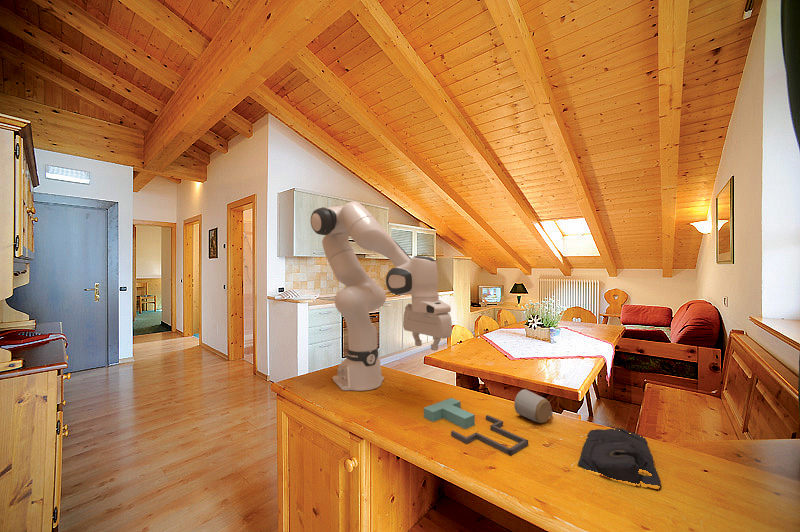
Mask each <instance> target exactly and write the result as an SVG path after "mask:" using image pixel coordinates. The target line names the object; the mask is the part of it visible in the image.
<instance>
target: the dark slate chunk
mask: <svg viewBox="0 0 800 532" xmlns="http://www.w3.org/2000/svg"><path fill="white" fill-rule="evenodd" d="M614 429H615V430H614ZM619 430H620V431H619ZM629 433H631V434H629ZM640 436H641V437H640ZM586 437H588V438H586V439H585V440H586V442H585V441H584V443H583V445H584V446H583V445H582V448H581V452H580V455H581V456H580V457H579V460H578V462H577V467H579V468H582V469H583V468H584V469H586V470H591V471H594V472H598V473H601V474H603V475H605V476H607V477H609V478H613V479H616V480H622V481H628V482H631V483H635V484H636V483H637V484H639V483H640V481H642V482H643V483H645V484H651V485H658V486H661V487H662V484H661V483H662V482H661V479H660V477H659V472H658V471H656V470H657V468H656V467H654V466H655V460H654V456H653V455H652V453H651V450H650V448H649V443H648V441H647V439H646V438H645V437H644V436H643V435H641V434H637V433H635V432H633V431H632V432H631V431H629V430H626V429H624V428H607V429H606V428H605V429H596V428H595V429H590V431H589V432H588V434H587V435H586ZM643 437H644V438H643ZM584 469H583V470H584ZM639 469H642V470H646V471H648V472H649V473H651V474H652V476H649V475H646V474H642V473H639V472H638V471H639Z"/></svg>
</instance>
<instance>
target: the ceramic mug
mask: <svg viewBox="0 0 800 532" xmlns="http://www.w3.org/2000/svg"><path fill="white" fill-rule="evenodd" d="M513 405H514V410H515V412H516V414H518V415H520V416H521V417H524V418H525V419H526V418H527V419H528V420H531V421H533V422H534V423H537V424H544V423H546V422H548V420H549V418H550V417H553V414H554V412H553V410H552V405H551V403H550V401H549V400H548V399H547V398H545V397H543V396H541V395H538V394H536V393H535V392H532V391H531V390H528V389H525V388H524V389H521V390H520V391H518V393H517V394H516V396H515V398H514V404H513Z"/></svg>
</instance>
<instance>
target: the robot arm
mask: <svg viewBox="0 0 800 532" xmlns="http://www.w3.org/2000/svg"><path fill="white" fill-rule="evenodd" d="M310 227H311V228H312V230H313V231H314V232H315V234H316V235H321V236H323V238H322V241H321V245H322V247H323V248H322V249H323V252H324V254H325V257H326V260H327V262H328V263H329V267H330V269H331V271H332V272H333V274H334V277H335V278H336V280H337V281H338V282H340V283H342V284H343V285H344V286H345V287H344V288H342V289H340V290H339V291H338V292H336V295H335V298H334V305H335V308H336V310H337V311H338V312H339V313H340V314H341V315H342V317H343V319H344V321H345V324H346V328H347V336H348V337H347V339H348V340H347V341H348V348H346V349H345V350H346V351H345V352H346V356H345V359H343V361H342V362H340V363H339V364H338V368H337V370H336V371H337V374H336V375H334V376H332V379H333V380H332V379H331V380H332V381H333V382H334V383H335V384H336V386H337V387H338V388H339V389H340V390H341V391H357V392H358V391H359V392H361V391H362V392H363V391H364V392H365V391H371V390H374V389H377V388H379V387H380V386H382V385H383V381H384V380H385V376H383V375H382V366H381V365H382V364H381V360H380V359H379V348H378V347H379V346H378V342H377V340H378V335H377V326H375V325H374V324H373V322H372V320H371V316H370V312H373V311H376V310H378V309H380V308H381V307H383V306H384V305H385V303H386V300H387V294H386V291H385V289H384V288H383V287H382V286H380V285H379V284H377V282H375V281H374V280H373V279H372V277H371V276H370V275H369V274H368V273H367V272H366V270H365V269H364V268H363V266H362V263H360V261H359V259H358V257H357V255H356V253H355V251H354V249H353V247H352V245H351V243H350V241H349V237H350V238H351V239H352V240H353V242H355V244H356V245H357V246H359V247H360V248H361V249H363V250H366V251H370V252H374V253H377V254H380V255H381V256H383V257H386V258H387V259H388V260H389V261H390V262H391V263H392V264H393V265H394V266H395V267H392V268H391V269H389V270H388V272H387V274H386V278H385V285H386V288H387V289H388V291H389V293H391V294H393V295H397V296H403V295H411V303H408V304H406V306H404V313H403V319H402V320H403V321H402V327H403V330H404V331H406V332H411V333H412V334H411V335H412V337H413V339H414V345H415V346H416V347H421V346H423V344H422V343H423V341H422V339H420V334H421V335H424V336H429V337H432V340H433V342H432V344H430V350H431V351H438V350H439V344H440V342H441V339H448V338H450V337H451V335H452V334H453V324H452V316H451V314H450V312H451V310H452V306H450V305H449V304H448V303H446V302H444V301H443V300H441V299H440V298H439V297H440V296H439V292H438V287H439V269H438V266H437V265H438V264H437V262H436V260H435V258H433V257H430V256H423V255H415V256H412V258H411V257H410V255H409V254H408V253H407V252H406V251H405V250H404V249H403V248H402V246H400V245H399V244H398V242H397V241H395V239H393V238H392V237H391V235H389V234H388V233H387V231H385V229H384V228H383V227H382V225H380V223H379V222H378V221H377V219H376V218H375V217H374V216H373V214H371V212H370V211H369V210H368V209H367V208H366V207H365V206H364V205H362V204H361V203H360V202H358V201H348V202H347V203H345V204H344V205H335V206H334V205H333V206H328V207H327V206H326V207H320V208H316V209H314V210H313V211H312V213H311V215H310Z"/></svg>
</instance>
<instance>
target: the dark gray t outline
mask: <svg viewBox="0 0 800 532" xmlns="http://www.w3.org/2000/svg"><path fill="white" fill-rule="evenodd" d="M485 420H486V421H487V422H491V423H492V424H491V425H489V426H490V431H491V432H492V431H493V432H494V433H497V434H499V435H501V436H503V437H505V438H508V439H510V440H512V441H514V442H516V444H514V445H512V446H511V447H508V446H506V445H504V444H502V443H500V442H497V441H495V440H493V439H491V438H489V437H487V436H485V435H482V434H480V433H479V432H477V431H476V432H474V433H471V434H470V435H468V436H465V435H463V434H461V433H459V432H457V431H455V430H450V436H451V437H453V438H454V439H456V440H459V441H460V442H461V443H463V444H466V445H468V444H469V443H471V442H474V441H475V440H477V441H481V442H482V443H484V444H486V445H488V446H490V447H492V448H494V449H496V450H498V451H500V452H502V453H504V454H507V455H508V456H510V457H511V456H513V455H514V454H516V453H518V452H519V451H521V450H522V449H525V448H526V447H528V446H529V440H528V439H526V438H524V437H521V436H519V435H517V434H514V433H513V432H510V431H509V430H506V429H503V428H501V427H503V426H504V420H501V419H499V418H496V417H493V416H491V415H489V414H487V415H485Z"/></svg>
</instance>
